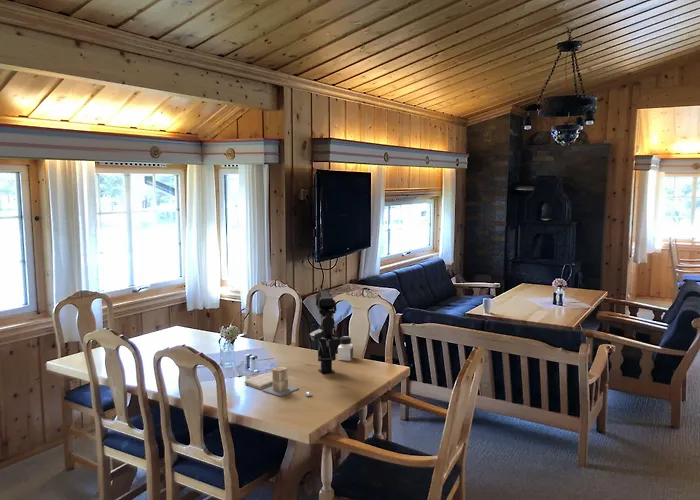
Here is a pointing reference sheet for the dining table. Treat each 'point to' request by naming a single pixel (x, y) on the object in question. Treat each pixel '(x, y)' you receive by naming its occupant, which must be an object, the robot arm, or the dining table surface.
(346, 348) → the medicine bottle
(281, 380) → the beige tall block
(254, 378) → the washcloth
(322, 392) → the dining table surface
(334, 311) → the robot arm
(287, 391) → the mat
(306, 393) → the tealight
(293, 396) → the dining table surface
